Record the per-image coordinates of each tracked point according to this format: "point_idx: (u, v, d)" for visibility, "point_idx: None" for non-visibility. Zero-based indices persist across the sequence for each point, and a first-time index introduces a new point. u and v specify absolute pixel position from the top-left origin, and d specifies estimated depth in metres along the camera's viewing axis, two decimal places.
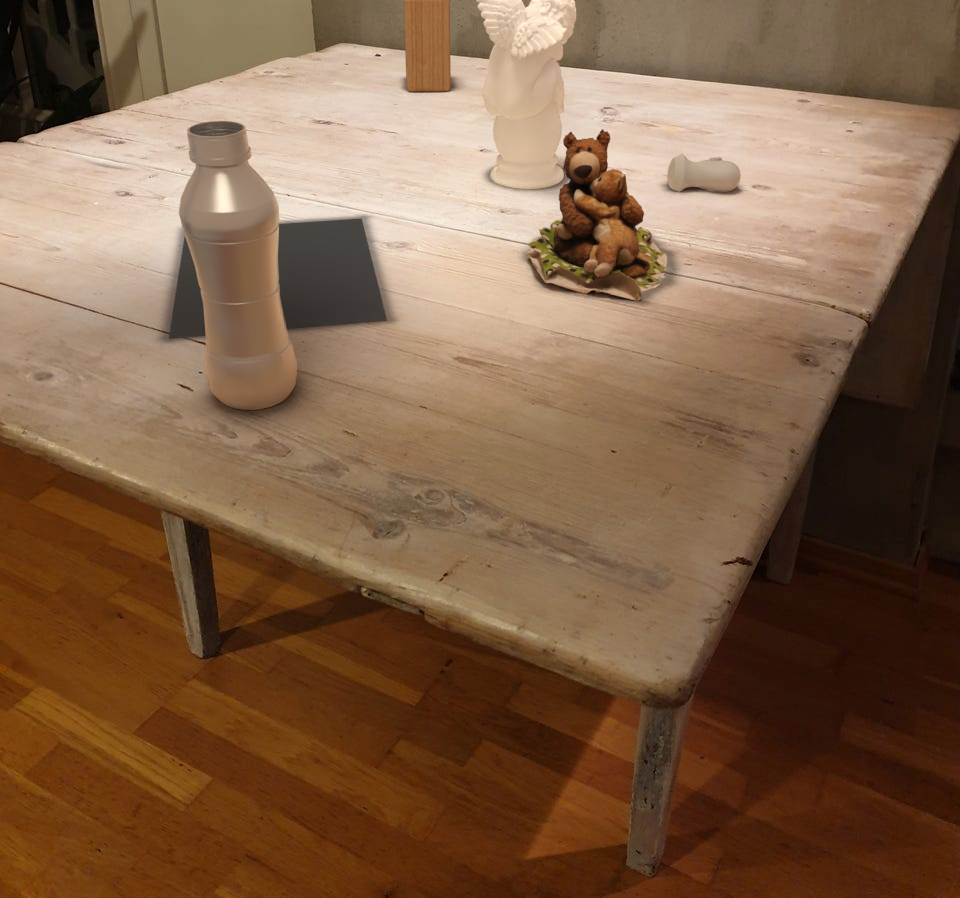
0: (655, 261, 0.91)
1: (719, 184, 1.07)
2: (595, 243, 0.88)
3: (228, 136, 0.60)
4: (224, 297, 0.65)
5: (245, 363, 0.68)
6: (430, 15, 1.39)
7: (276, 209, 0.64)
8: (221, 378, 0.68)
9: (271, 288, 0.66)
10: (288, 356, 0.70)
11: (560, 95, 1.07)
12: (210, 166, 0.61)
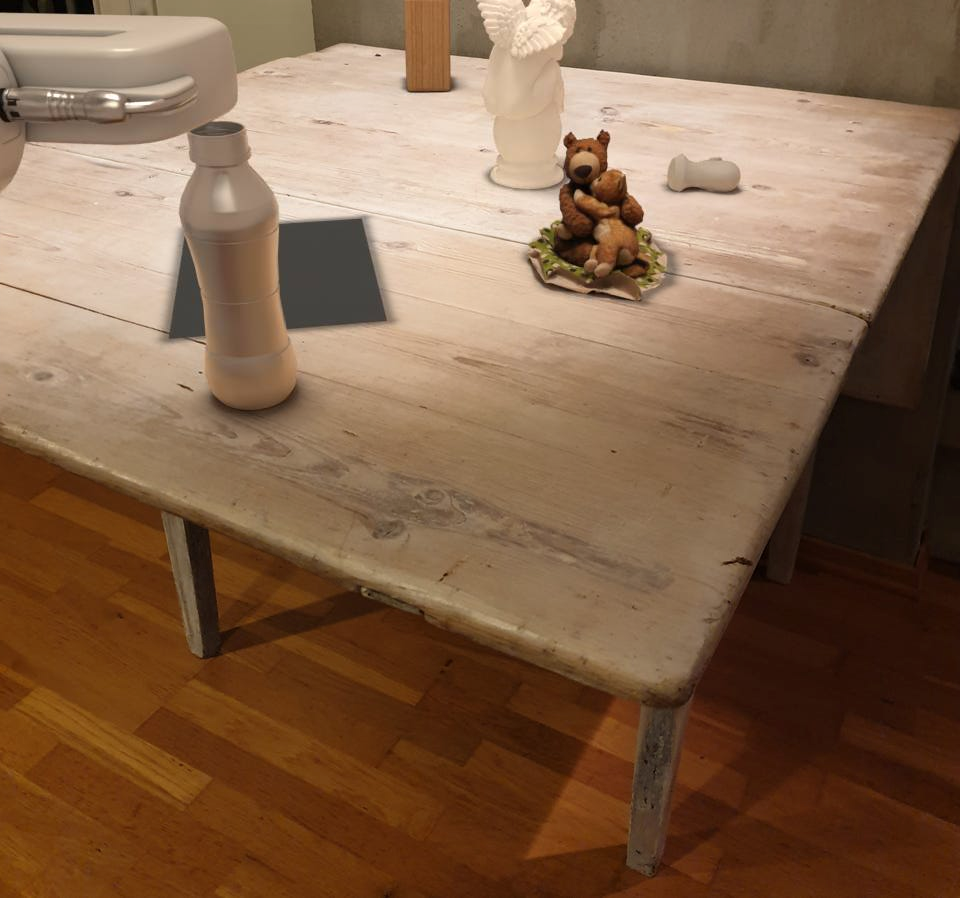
0: (655, 261, 0.91)
1: (719, 184, 1.07)
2: (595, 243, 0.88)
3: (228, 136, 0.60)
4: (224, 297, 0.65)
5: (245, 363, 0.68)
6: (430, 15, 1.39)
7: (276, 209, 0.64)
8: (221, 378, 0.68)
9: (271, 288, 0.66)
10: (288, 356, 0.70)
11: (560, 95, 1.07)
12: (210, 166, 0.61)
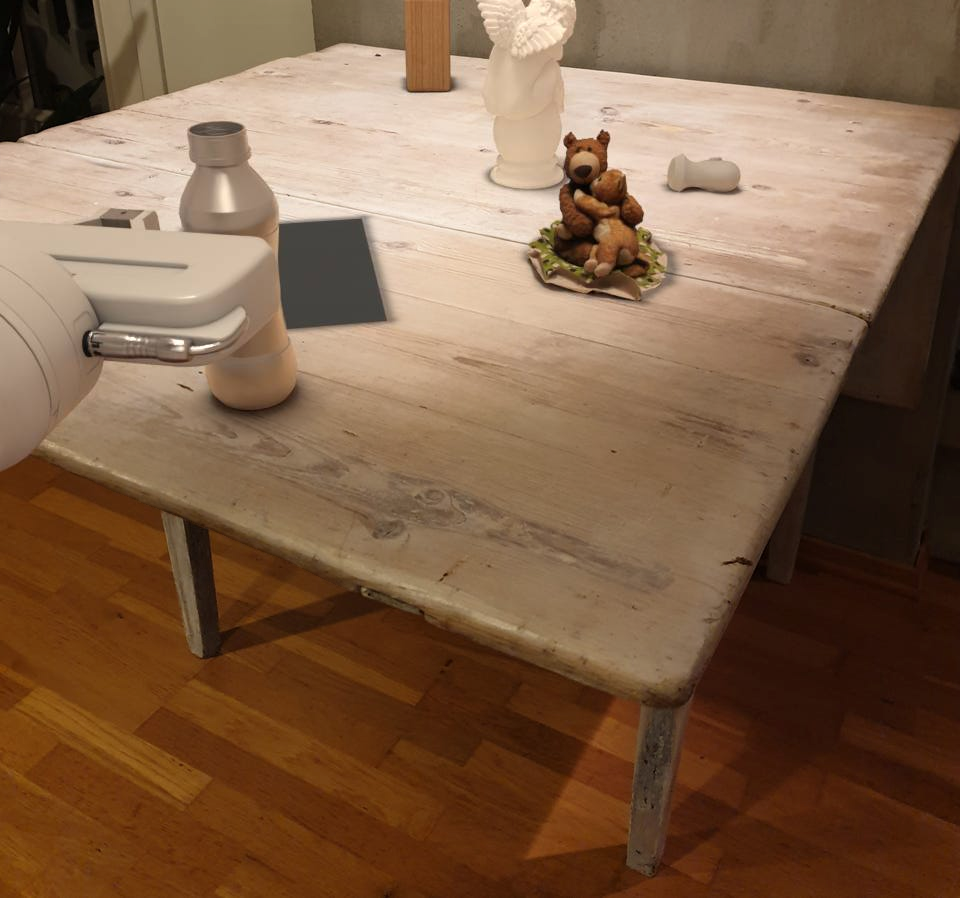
0: (655, 261, 0.91)
1: (719, 184, 1.07)
2: (595, 243, 0.88)
3: (228, 136, 0.60)
4: None
5: (245, 363, 0.68)
6: (430, 15, 1.39)
7: (276, 209, 0.64)
8: (221, 378, 0.68)
9: None
10: (288, 356, 0.70)
11: (560, 95, 1.07)
12: (210, 166, 0.61)
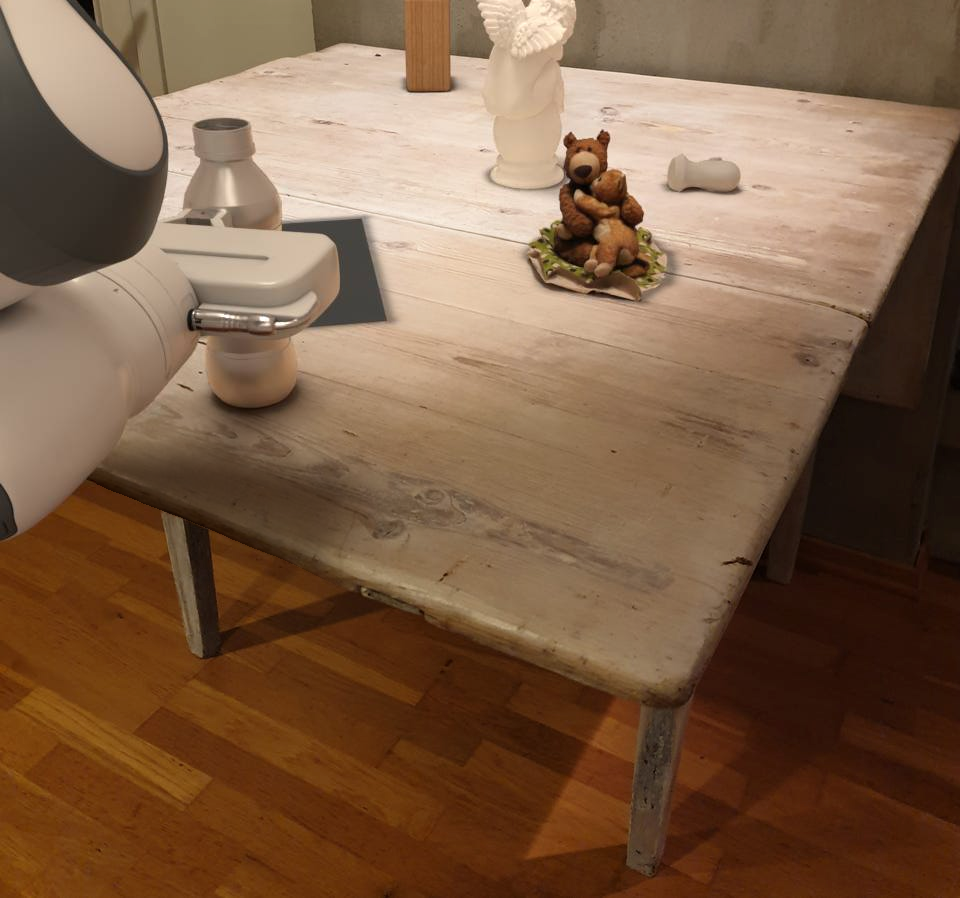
0: (655, 261, 0.91)
1: (719, 184, 1.07)
2: (595, 243, 0.88)
3: (233, 131, 0.61)
4: None
5: (246, 359, 0.68)
6: (430, 15, 1.39)
7: (279, 205, 0.64)
8: (221, 375, 0.68)
9: None
10: (289, 354, 0.70)
11: (560, 95, 1.07)
12: (215, 161, 0.61)
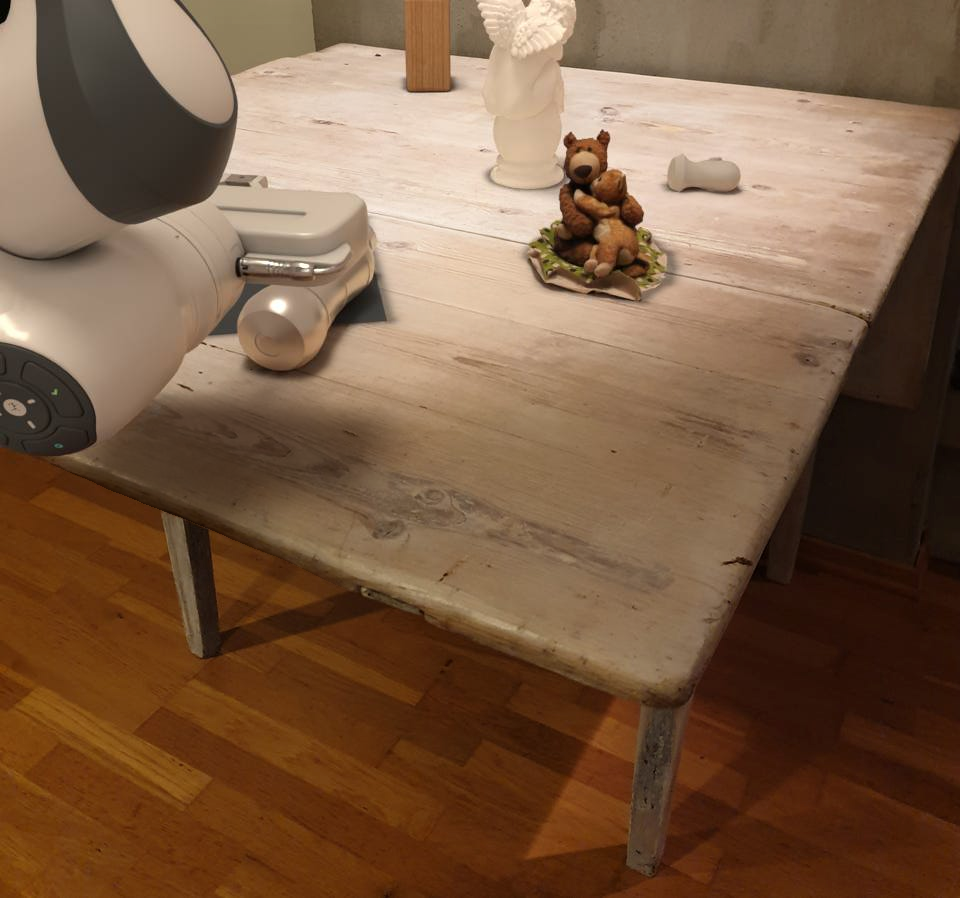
0: (655, 261, 0.91)
1: (719, 184, 1.07)
2: (595, 243, 0.88)
3: (371, 228, 0.88)
4: None
5: (303, 287, 0.75)
6: (430, 15, 1.39)
7: (373, 272, 0.84)
8: (273, 288, 0.74)
9: (345, 288, 0.80)
10: (327, 325, 0.75)
11: (560, 95, 1.07)
12: None
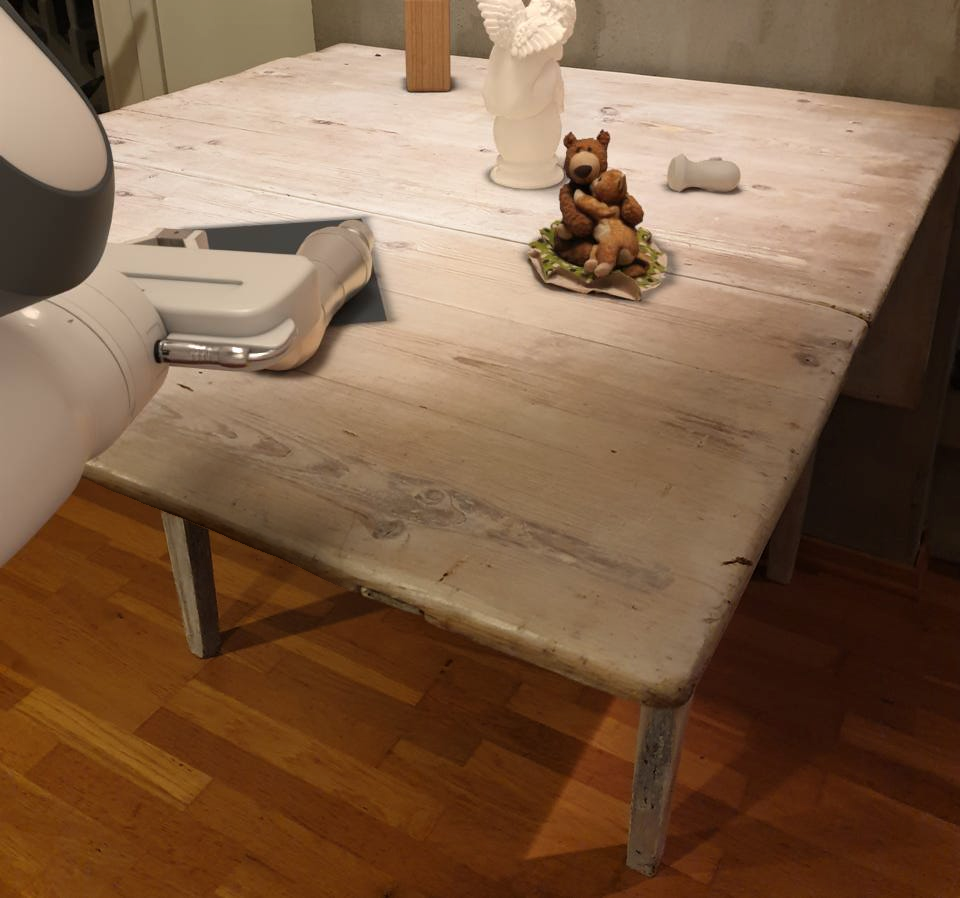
0: (655, 261, 0.91)
1: (719, 184, 1.07)
2: (595, 243, 0.88)
3: (368, 227, 0.88)
4: (311, 260, 0.79)
5: None
6: (430, 15, 1.39)
7: (371, 269, 0.84)
8: None
9: (342, 286, 0.80)
10: (324, 322, 0.75)
11: (560, 95, 1.07)
12: (347, 229, 0.86)
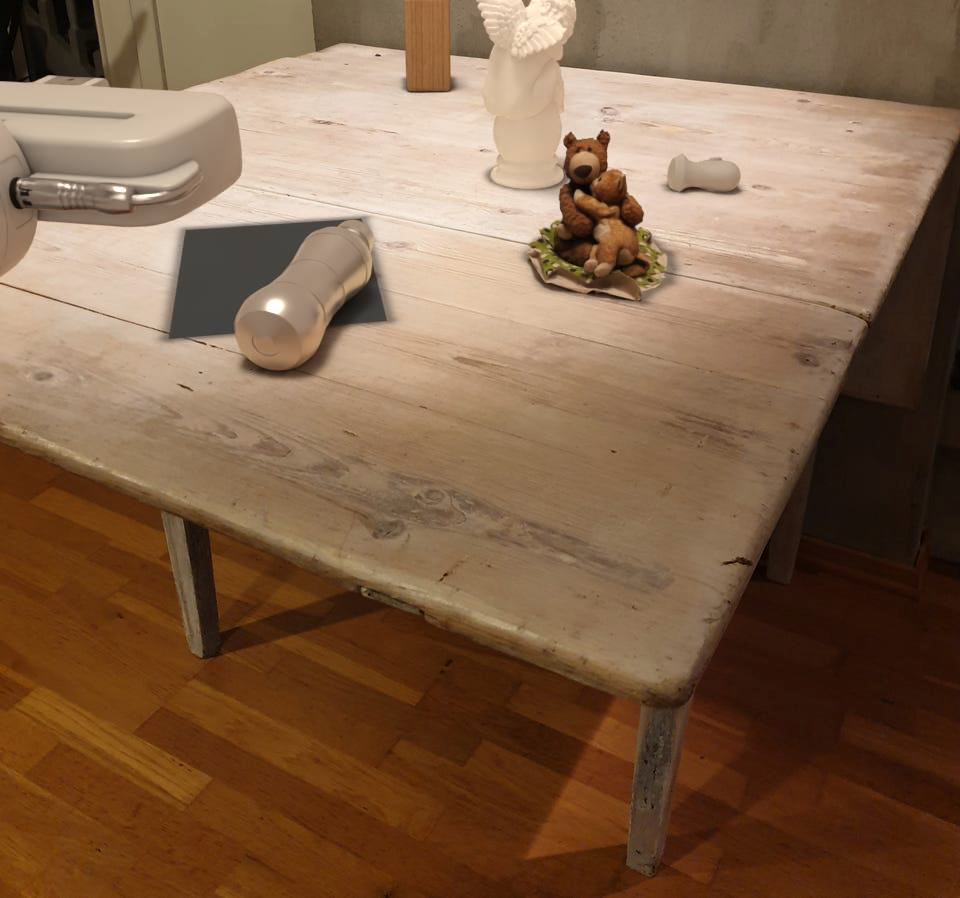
0: (655, 261, 0.91)
1: (719, 184, 1.07)
2: (595, 243, 0.88)
3: (368, 227, 0.88)
4: (311, 260, 0.79)
5: (298, 286, 0.75)
6: (430, 15, 1.39)
7: (371, 269, 0.84)
8: (268, 288, 0.74)
9: (342, 286, 0.80)
10: (324, 322, 0.75)
11: (560, 95, 1.07)
12: (347, 229, 0.86)
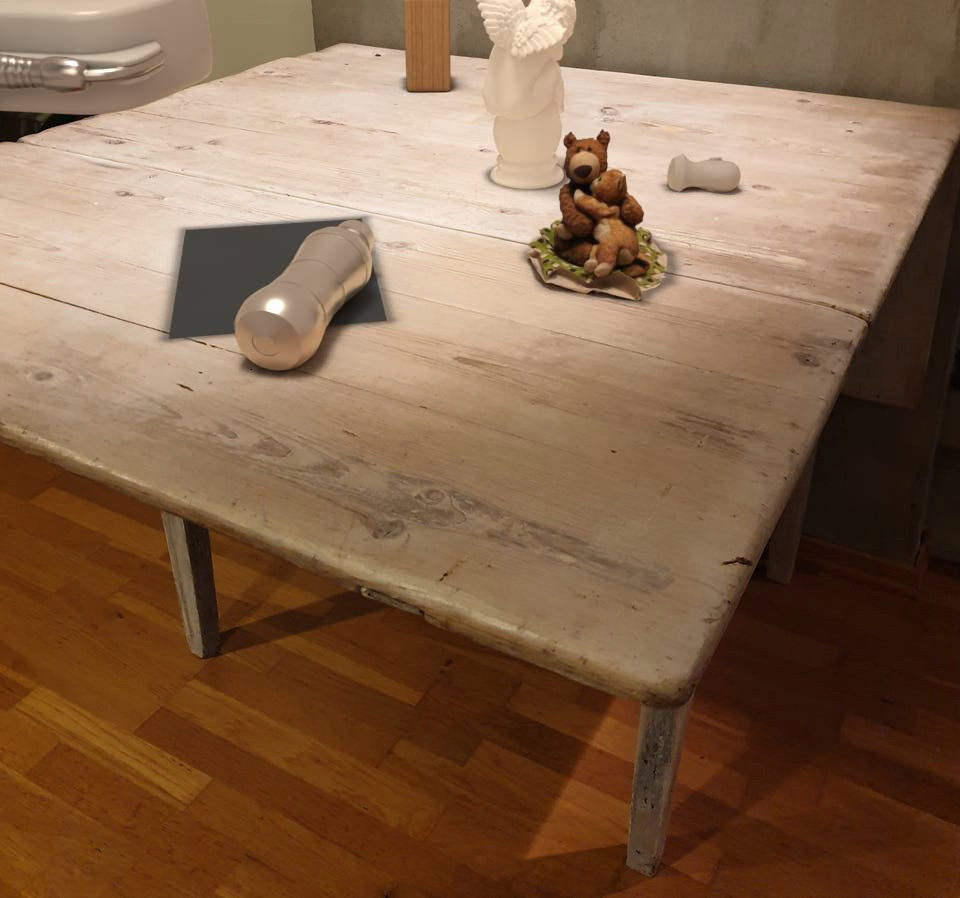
0: (655, 261, 0.91)
1: (719, 184, 1.07)
2: (595, 243, 0.88)
3: (368, 227, 0.88)
4: (311, 260, 0.79)
5: (298, 286, 0.75)
6: (430, 15, 1.39)
7: (371, 269, 0.84)
8: (268, 288, 0.74)
9: (342, 286, 0.80)
10: (324, 322, 0.75)
11: (560, 95, 1.07)
12: (347, 229, 0.86)
